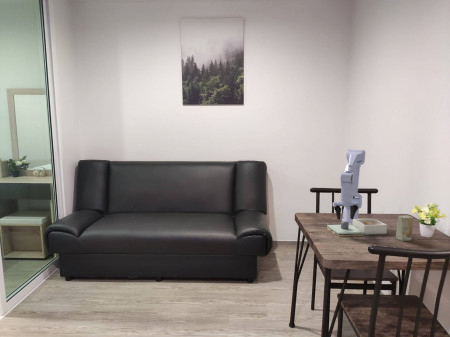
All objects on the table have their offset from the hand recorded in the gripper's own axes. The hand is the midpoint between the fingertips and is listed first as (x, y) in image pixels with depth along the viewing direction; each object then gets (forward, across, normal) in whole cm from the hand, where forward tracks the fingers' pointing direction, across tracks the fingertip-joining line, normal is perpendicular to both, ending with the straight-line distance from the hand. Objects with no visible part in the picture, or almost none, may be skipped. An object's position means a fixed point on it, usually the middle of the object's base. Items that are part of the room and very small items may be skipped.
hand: (345, 219), depth 190 cm
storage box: (+7, +15, +1) cm, 17 cm away
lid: (+7, 0, 0) cm, 7 cm away
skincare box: (+8, +25, -15) cm, 30 cm away
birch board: (+7, 0, 0) cm, 7 cm away
